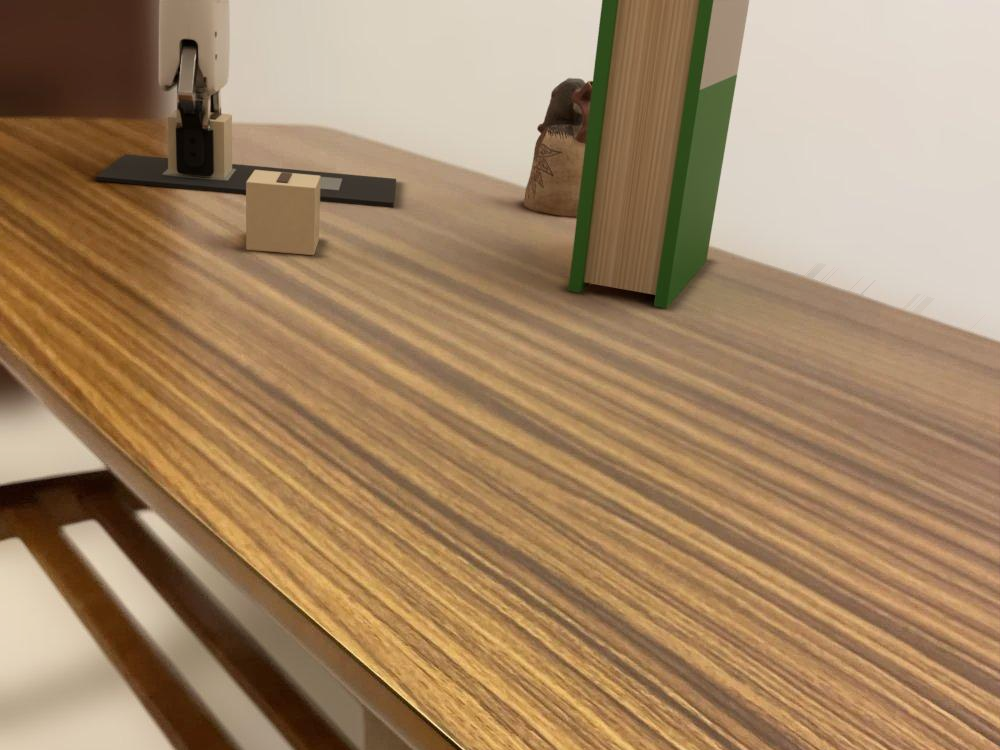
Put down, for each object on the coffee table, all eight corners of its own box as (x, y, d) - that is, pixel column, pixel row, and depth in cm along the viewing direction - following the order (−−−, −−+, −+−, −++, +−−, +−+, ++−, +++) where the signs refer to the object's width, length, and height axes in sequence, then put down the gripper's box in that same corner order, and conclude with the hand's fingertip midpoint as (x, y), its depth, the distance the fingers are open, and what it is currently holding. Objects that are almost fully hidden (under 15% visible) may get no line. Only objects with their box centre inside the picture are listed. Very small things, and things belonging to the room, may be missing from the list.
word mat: (95, 180, 108) (95, 175, 108) (125, 158, 119) (125, 153, 119) (393, 207, 111) (393, 201, 111) (395, 182, 122) (396, 177, 122)
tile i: (246, 250, 92) (246, 180, 90) (254, 235, 96) (254, 168, 94) (314, 255, 92) (315, 186, 90) (319, 240, 97) (320, 174, 95)
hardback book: (666, 308, 89) (722, -59, 79) (568, 290, 91) (610, -71, 80) (706, 261, 105) (757, -51, 94) (622, 246, 106) (663, -62, 96)
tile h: (168, 173, 112) (166, 115, 110) (178, 164, 116) (176, 107, 114) (224, 178, 112) (224, 120, 110) (232, 169, 117) (232, 113, 115)
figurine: (572, 200, 123) (587, 73, 118) (612, 216, 118) (629, 84, 113) (511, 201, 119) (523, 70, 114) (550, 218, 114) (564, 81, 109)
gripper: (170, -54, 113) (175, 150, 121) (131, -51, 98) (140, 182, 106) (253, -45, 114) (253, 157, 122) (227, -40, 99) (228, 190, 107)
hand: (200, 166), depth 114 cm, fingers closed on tile h, 4 cm apart
